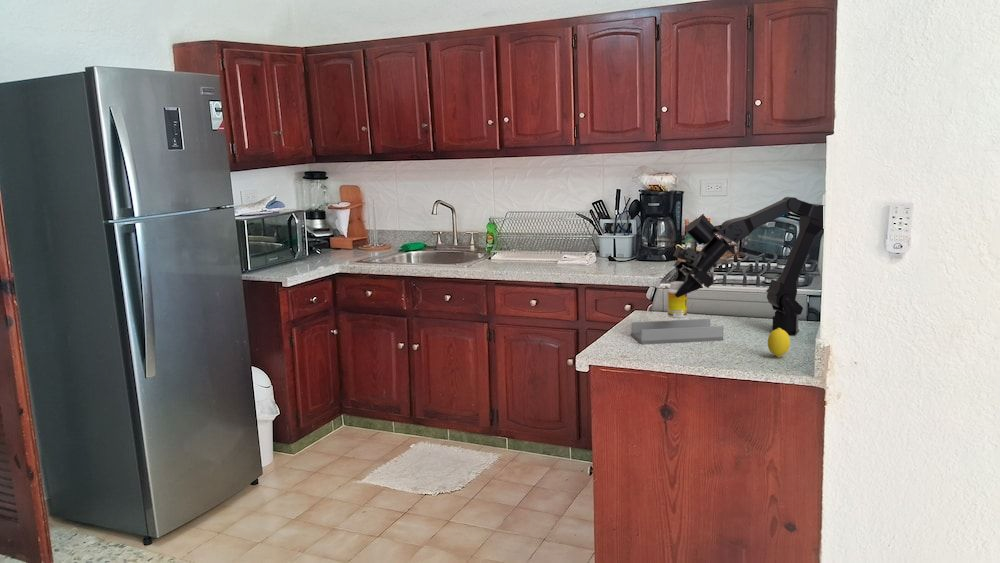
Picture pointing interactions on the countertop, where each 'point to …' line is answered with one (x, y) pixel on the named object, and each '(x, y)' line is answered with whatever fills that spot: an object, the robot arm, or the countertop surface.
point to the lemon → (778, 342)
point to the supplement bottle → (676, 301)
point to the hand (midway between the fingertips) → (672, 294)
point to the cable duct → (676, 331)
